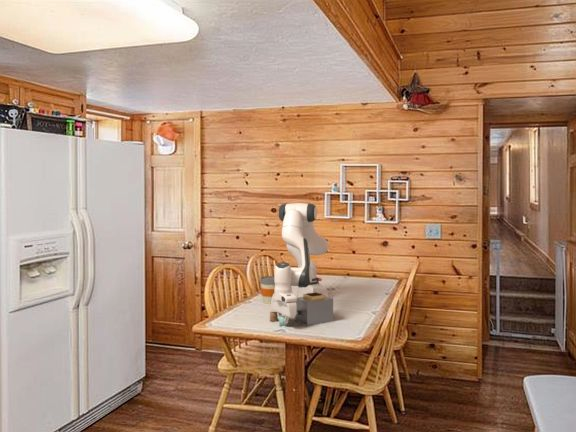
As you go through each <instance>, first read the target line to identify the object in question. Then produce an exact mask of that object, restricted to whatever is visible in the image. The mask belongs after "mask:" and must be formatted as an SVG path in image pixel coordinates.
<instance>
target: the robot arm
mask: <svg viewBox="0 0 576 432" xmlns="http://www.w3.org/2000/svg"><path fill="white" fill-rule="evenodd" d="M277 211H278V212H277V214H278V218H279V220H280V221H281V222H282V226H281V238H282V240H283V241H284V243H285V244H286V245H285V246H286V250H287V251H288V253H289V254H291V255H292V256H293V258H294V259H295V262H296V263H297V267H294V266H293V267H292V266H291V264H290V263H289V262H279V263H276V265H275V266H274V267H275V268H274V275H273V276H274V282H275V288H274V293H273V296H272V299H271V304H270V308H271V310H272V311H273V312H277V315H278V320H279V316H285V320H284V323H285V324H287V325H288V323H289V320H290V318H295V316H296V313H297V305H296V302H295V301H297V297H303V294H306V293H314V292H317V293H320V294H323V295H325V296H327V297H330V298H332V296H330V295H329V292H328V289H327V288H326V287H325V286H323V285H322V284H321V283H320V282H322V281H323V278H322V277H318V276H317V265H316V263H315V262H314V261H312V260H311V259H310V256H321V255H325V254H326V253H327V252H328V250H329V242H328V240H327V239H326V238H324V237H323V236H321V235H319V234H318V232H317V231H316V229H315V226H314V221H316V220H317V217H318V209H317V206H316V205H315V204H313V203H311V202H309V203H304V202H295V203H282V204H281V205H280V206H279V207H278V210H277ZM292 287H297V293H296V295H295V294H294V292H293V288H292Z"/></svg>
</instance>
